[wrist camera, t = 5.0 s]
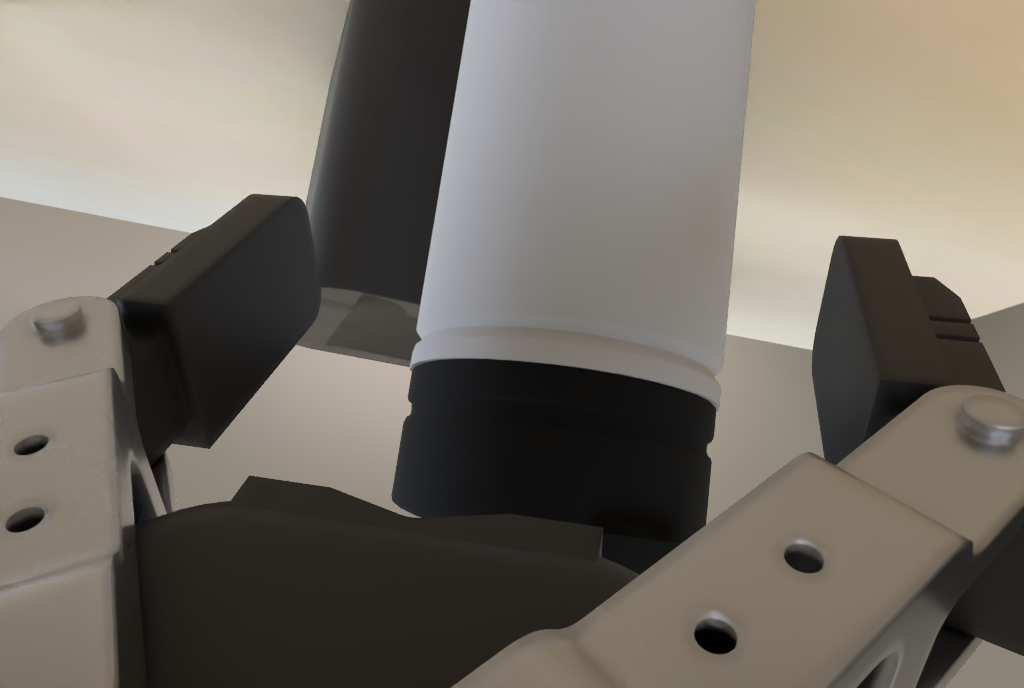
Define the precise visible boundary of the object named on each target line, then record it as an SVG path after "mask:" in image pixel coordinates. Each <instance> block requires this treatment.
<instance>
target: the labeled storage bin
mask: <svg viewBox="0 0 1024 688" xmlns="http://www.w3.org/2000/svg"><path fill="white" fill-rule="evenodd" d="M470 3H471V0H350V4H349V8H348V12H347V16H346V20H345V24H344V28H343V32H342V36H341V40H340V44H339V48H338V53H337V57H336V61H335V65H334V69H333V73H332V77H331V81H330V86H329V91H328V96H327V101H326V106H325V111H324V116H323V121H322V126H321V131H320V136H319V141H318V146H317V151H316V156H315V161H314V166H313V171H312V176H311V181H310V186H309V191H308V196H307V201H306V208H307V211H308V215H309V221H310V227H311V232H312V238H313V244H314V249H315V255H316V261H317V267H318V272H319V278H320V284H321V303H320V309H319V312H318V315H317V318H316V320H315V322H314V323H313V324H312V326H311V327H310V328H309V329H308V330H307V332H306V333H305V334H304V335H303V336H302V338H301V339H300V340H299V341H298V343H297V344H296V345H299V346H303V347H307V348H311V349H316V350H321V351H327V352H332V353H338V354H343V355H348V356H353V357H359V358H364V359H369V360H375V361H380V362H385V363H391V364H396V365H401V366H407V367H410V364H411V358H412V353H413V350H414V347H415V345H416V344H417V343H418V342H419V341H421V340H422V339H421V337H420V336H419V334H418V333H417V329H416V328H417V322H418V316H419V310H420V304H421V298H422V292H423V286H424V280H425V274H426V268H427V262H428V256H429V250H430V244H431V238H432V232H433V226H434V220H435V214H436V208H437V202H438V196H439V190H440V184H441V178H442V172H443V166H444V160H445V154H446V148H447V142H448V136H449V130H450V124H451V118H452V112H453V106H454V100H455V94H456V87H457V81H458V75H459V69H460V63H461V57H462V51H463V45H464V39H465V33H466V27H467V21H468V15H469V9H470Z"/></svg>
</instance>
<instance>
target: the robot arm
mask: <svg viewBox="0 0 1024 688" xmlns="http://www.w3.org/2000/svg"><path fill="white" fill-rule="evenodd" d="M320 303H321V284H320V278H319V272H318V267H317V261H316V255H315V249H314V244H313V238H312V232H311V227H310V221H309V215H308V211H307V208H306V206H305V204H304V202H303V201H302V200H301V199H300V198H298V197H291V196H276V195H262V194H251V195H249V196H248V197H246V198H245V199H244V200H242V201H241V202H240V203H239V204H237V205H236V206H235V207H234V208H232V209H231V210H230V211H228V212H227V213H226V214H225V215H223V216H222V217H221V218H219V219H218V220H217V221H216V222H214V223H213V224H212V225H210V226H208V227H206V228H203V229H201V230H199V231H196V232H194V233H192V234H190V235H189V236H188V237H186V238H185V239H184V240H182V241H181V242H180V243H178V244H177V245H176V246H175V247H173V248H172V249H171V253H168V252H167V253H165V254H164V255H163V256H162V257H160V258H159V259H158V260H156V261H155V265H150V266H148V267H147V268H146V269H145V270H143V271H142V272H141V273H139V274H138V275H137V276H135V277H134V278H133V279H132V280H130V281H129V282H128V283H126V284H125V285H124V286H123V287H121V288H120V289H119V290H117V291H116V292H115V293H113V294H112V295H111V296H109V297H108V298H107V299H105V298H101V297H93V296H79V297H69V298H63V299H58V300H54V301H50V302H47V303H44V304H41V305H38V306H35V307H33V308H31V309H29V310H27V311H24V312H23V313H21V314H19V315H17V316H16V317H14V318H13V319H12V320H10V321H9V322H8V323H7V324H6V325H5V326H4V327H3V329H2V330H1V333H0V688H945V687H946V685H947V684H948V683H949V682H950V680H951V679H952V678H953V677H954V676H955V674H956V673H957V672H958V670H959V669H960V668H961V667H962V665H964V663H965V662H966V661H967V660H968V658H969V657H970V656H971V655H972V653H973V652H974V651H975V650H976V648H977V647H978V646H979V645H980V644H981V642H982V640H985V641H987V642H990V643H992V644H995V645H998V646H1000V647H1002V648H1005V649H1007V650H1010V651H1012V652H1015V653H1017V654H1020V655H1022V656H1024V399H1021V398H1019V397H1016V396H1013V395H1011V394H1008V393H1006V391H1005V389H1004V387H1003V385H1002V383H1001V381H1000V379H999V377H998V375H997V372H996V371H995V368H994V367H993V364H992V362H991V360H990V358H989V356H988V354H987V352H986V350H985V348H984V346H983V344H982V343H980V342H979V339H980V337H979V335H978V333H977V331H976V329H975V327H974V325H973V324H971V319H970V317H969V315H968V312H967V310H966V308H965V306H964V304H963V302H962V300H961V298H960V297H959V296H957V295H956V294H955V293H954V292H952V291H951V290H950V289H948V288H947V287H946V286H945V285H943V284H942V283H941V282H939V281H938V280H937V279H936V278H933V277H920V276H912V275H911V272H910V270H909V267H908V265H907V262H906V260H905V257H904V255H903V252H902V250H901V247H900V245H899V242H898V241H897V240H895V239H881V238H866V237H852V236H839V237H838V238H837V240H836V243H835V245H834V249H833V253H832V257H831V262H830V266H829V271H828V276H827V280H826V285H825V290H824V294H823V299H822V304H821V308H820V313H819V318H818V323H817V327H816V332H815V338H814V345H813V354H812V376H813V383H814V390H815V396H816V403H817V410H818V417H819V423H820V430H821V437H822V444H823V451H824V457H825V459H823V458H821V457H820V456H818V455H816V454H814V453H811V452H807V453H804V454H801V455H799V456H797V457H796V458H794V459H793V460H791V461H790V462H789V463H787V464H786V465H785V466H783V467H782V468H781V469H779V470H778V471H777V472H775V473H774V474H773V475H772V476H770V477H769V478H767V479H766V480H765V481H763V482H762V483H761V484H760V485H758V486H757V487H756V488H754V489H753V490H752V491H750V492H749V493H748V494H746V495H745V496H744V497H742V498H741V499H740V500H738V501H737V502H736V503H734V504H733V505H732V506H730V507H729V508H728V509H726V510H725V511H724V512H722V513H721V514H720V515H719V516H718V517H716V518H715V519H713V520H712V521H711V522H709V523H708V524H707V525H705V526H704V527H703V528H701V529H700V530H699V531H697V532H696V533H695V534H693V535H692V536H691V537H689V538H688V539H687V540H685V541H684V542H683V543H682V544H680V545H679V546H678V547H676V548H675V549H674V550H672V551H671V552H670V553H668V554H667V555H666V556H664V557H663V558H662V559H660V560H659V561H658V562H656V563H655V564H654V565H652V566H651V567H650V568H649V569H647V570H646V571H645V572H643V573H642V574H641V575H639V574H637V573H635V572H633V571H631V570H629V569H627V568H626V567H624V566H622V565H620V564H618V563H615V562H613V561H610V560H608V559H605V558H603V557H602V538H603V527H597V526H590V525H583V524H576V523H569V522H562V521H556V520H549V519H542V518H535V517H528V516H521V515H515V514H495V515H473V516H451V517H428V518H412V517H406V516H403V515H400V514H397V513H395V512H392V511H390V510H387V509H384V508H382V507H379V506H377V505H374V504H371V503H369V502H366V501H364V500H361V499H359V498H356V497H353V496H351V495H348V494H346V493H343V492H341V491H338V490H335V489H333V488H330V487H323V486H316V485H310V484H303V483H295V482H289V481H282V480H275V479H269V478H262V477H255V476H249V477H248V478H247V480H246V481H245V482H244V484H243V485H242V486H241V488H240V489H239V490H238V492H237V493H236V495H235V496H234V497H233V499H232V500H231V501H226V502H217V503H210V504H203V505H199V506H194V507H190V508H186V509H181V510H178V509H177V503H176V495H175V488H174V482H173V475H172V469H171V466H170V462H169V459H168V457H167V454H166V450H167V448H168V447H169V446H170V445H171V444H179V445H187V446H194V447H201V448H208V449H210V447H211V446H212V445H213V444H214V443H215V441H216V440H217V439H218V438H219V437H220V435H221V434H222V433H223V432H224V431H225V429H226V428H227V427H228V426H229V425H230V423H231V422H232V421H233V420H234V419H235V417H236V416H237V415H238V414H239V413H240V411H241V410H242V409H243V408H244V407H245V405H246V404H247V403H248V402H249V400H250V399H251V398H252V397H253V396H254V394H255V393H256V392H257V391H258V390H259V388H260V387H261V386H262V385H263V384H264V382H265V381H266V380H267V379H268V378H269V376H270V375H271V374H272V373H273V371H274V370H275V369H276V368H277V367H278V365H279V364H280V363H281V362H282V360H283V359H284V358H285V357H286V356H287V355H288V353H289V352H290V351H291V350H292V348H293V347H294V346H295V345H296V344H297V343H298V341H299V340H300V339H301V338H302V336H303V335H304V334H305V333H306V332H307V330H308V329H309V328H310V327H311V326H312V324H313V323H314V322H315V320H316V318H317V315H318V312H319V309H320Z"/></svg>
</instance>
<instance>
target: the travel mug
mask: <svg viewBox="0 0 1024 688" xmlns="http://www.w3.org/2000/svg"><path fill="white" fill-rule="evenodd" d="M754 12H755V0H471V3H470V9H469V15H468V21H467V27H466V33H465V39H464V45H463V51H462V57H461V63H460V69H459V75H458V81H457V87H456V94H455V100H454V106H453V112H452V118H451V124H450V130H449V136H448V142H447V148H446V154H445V160H444V166H443V172H442V178H441V184H440V190H439V196H438V202H437V208H436V214H435V220H434V226H433V232H432V238H431V244H430V250H429V256H428V262H427V268H426V274H425V280H424V286H423V292H422V298H421V304H420V310H419V316H418V322H417V328H416V329H417V333H418V334H419V336H420V337H421V339H422V340H421V341H419V342H418V343H417V344H416V345H415V347H414V350H413V353H412V358H411V364H410V370H411V371H412V375H411V382H410V388H409V393H408V400H409V401H410V402H411V403H412V411H411V414H410V415H409V416H407V418H406V419H405V421H404V424H403V430H402V436H401V442H400V448H399V454H398V460H397V466H396V472H395V478H394V484H393V490H392V500H393V502H394V503H395V504H396V505H398V506H399V507H400V508H402V509H404V510H406V511H408V512H410V513H412V514H414V515H416V516H419V517H421V518H428V517H451V516H473V515H495V514H515V515H521V516H528V517H535V518H542V519H549V520H556V521H562V522H569V523H576V524H583V525H590V526H597V527H603V538H602V557H603V558H605V559H608V560H610V561H613V562H615V563H618V564H620V565H622V566H624V567H626V568H627V569H629V570H631V571H633V572H635V573H637V574H639V575H641V574H642V573H643V572H645V571H646V570H647V569H649V568H650V567H651V566H652V565H654V564H655V563H656V562H658V561H659V560H660V559H662V558H663V557H664V556H666V555H667V554H668V553H670V552H671V551H672V550H674V549H675V548H676V547H678V546H679V545H680V544H682V543H683V542H684V541H685V540H687V539H688V538H689V537H691V536H692V535H693V534H695V533H696V532H697V531H699V530H700V529H701V528H703V527H704V526H705V525H706V516H707V507H708V496H709V485H710V474H711V463H712V462H711V458H709V457H708V456H707V452H706V450H707V444H708V443H710V442H711V441H712V440H713V437H714V428H715V418H716V412H717V411H718V410H719V406H720V396H721V386H720V384H719V382H718V381H717V380H716V379H715V376H716V375H717V374H719V373H720V372H721V371H722V368H723V362H724V350H725V339H726V328H727V317H728V305H729V294H730V283H731V271H732V260H733V249H734V238H735V226H736V215H737V204H738V192H739V181H740V170H741V159H742V147H743V136H744V125H745V113H746V102H747V91H748V79H749V68H750V57H751V46H752V34H753V23H754Z"/></svg>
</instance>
